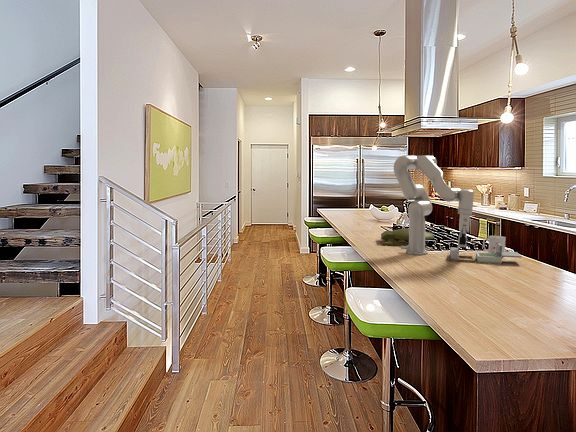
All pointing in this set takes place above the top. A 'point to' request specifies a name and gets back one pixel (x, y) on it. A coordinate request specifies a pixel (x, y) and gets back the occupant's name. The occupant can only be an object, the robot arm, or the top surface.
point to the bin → (488, 258)
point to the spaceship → (400, 237)
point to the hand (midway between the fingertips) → (462, 243)
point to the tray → (462, 259)
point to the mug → (495, 243)
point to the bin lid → (505, 254)
